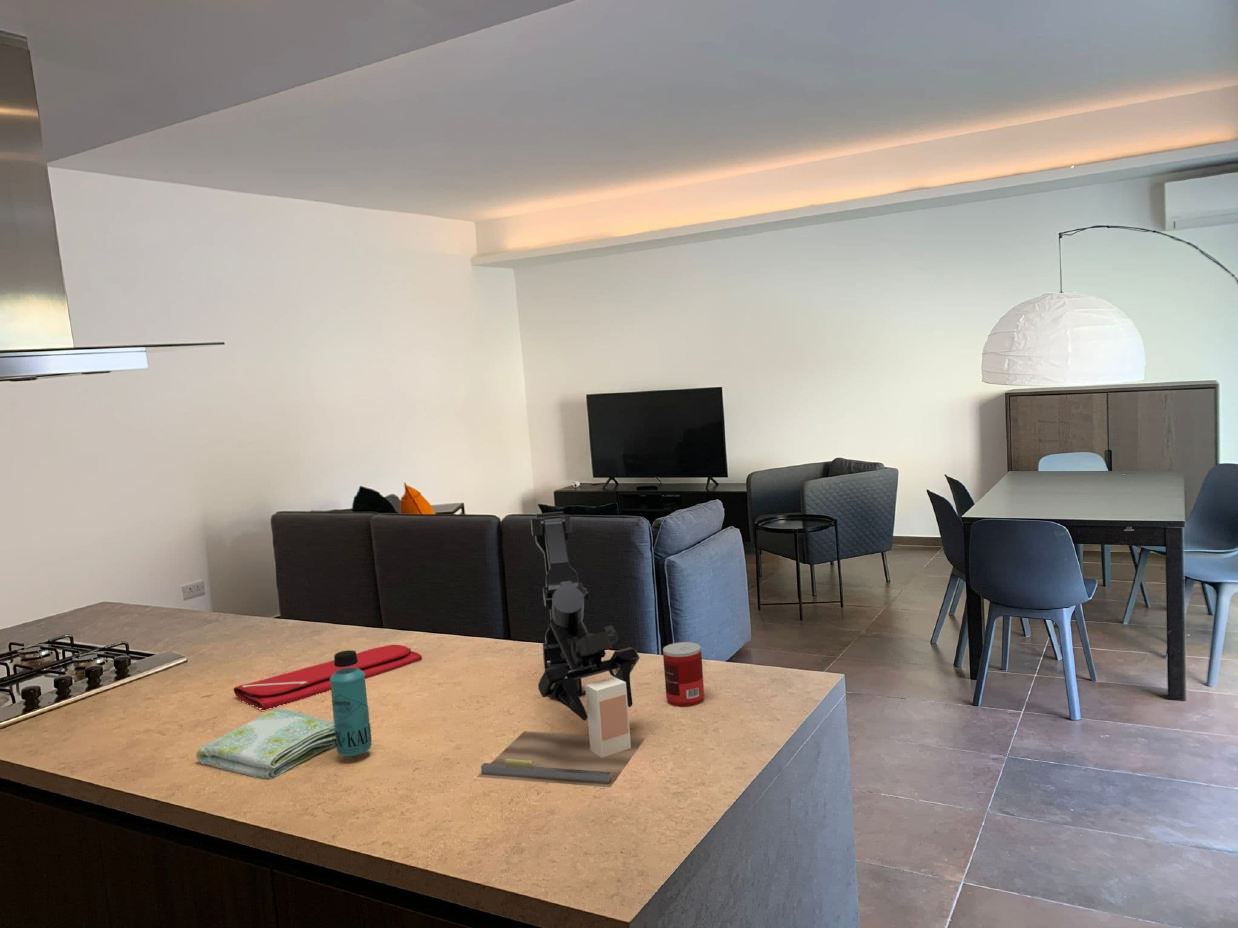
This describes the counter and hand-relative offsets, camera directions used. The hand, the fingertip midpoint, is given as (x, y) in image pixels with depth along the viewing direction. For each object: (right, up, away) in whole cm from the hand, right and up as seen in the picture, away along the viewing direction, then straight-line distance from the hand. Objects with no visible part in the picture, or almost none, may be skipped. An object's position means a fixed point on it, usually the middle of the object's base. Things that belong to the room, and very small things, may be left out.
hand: (608, 712), depth 158 cm
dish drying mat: (-67, -8, +57) cm, 88 cm away
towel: (-64, -12, +14) cm, 67 cm away
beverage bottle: (-47, -11, +9) cm, 49 cm away
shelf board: (-8, -9, 0) cm, 12 cm away
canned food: (+15, -5, +25) cm, 30 cm away
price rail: (-10, -9, -8) cm, 16 cm away
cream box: (0, -7, +1) cm, 7 cm away
